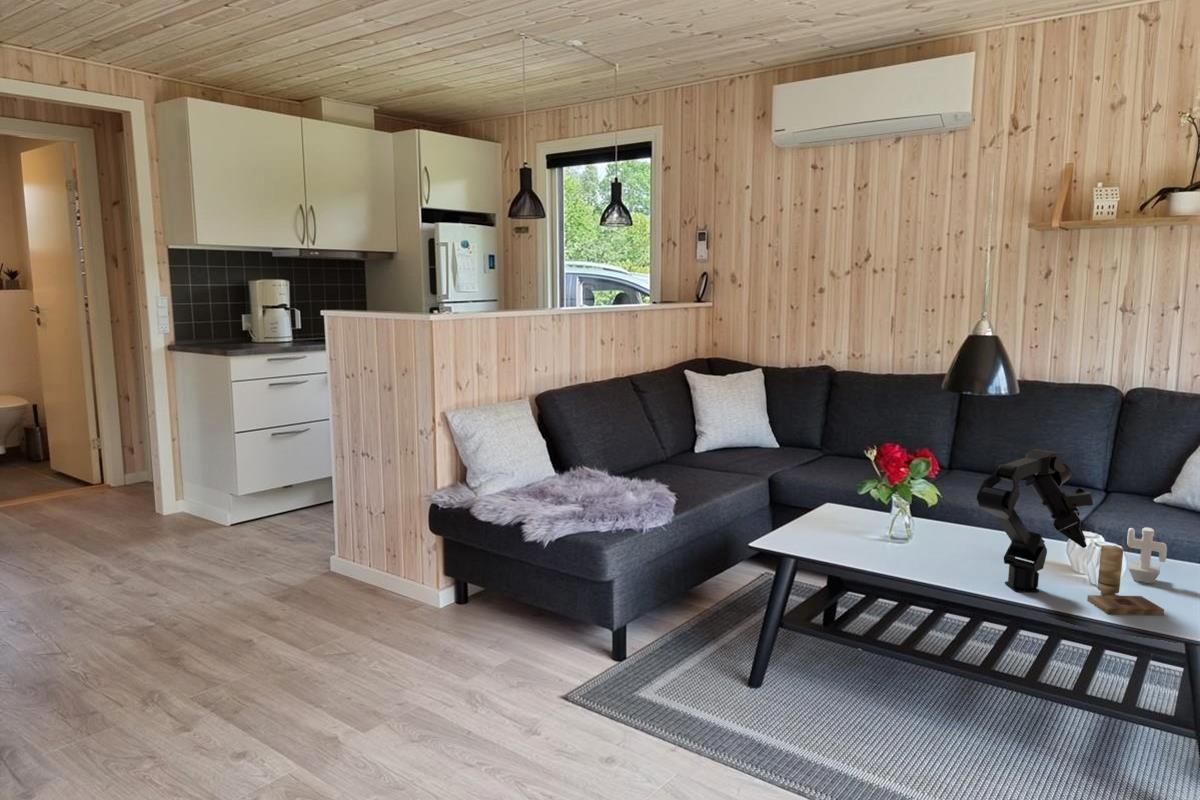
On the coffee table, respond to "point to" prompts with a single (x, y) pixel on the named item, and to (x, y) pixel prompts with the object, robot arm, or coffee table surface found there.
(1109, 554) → the oak peg
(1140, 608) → the walnut board
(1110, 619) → the coffee table surface
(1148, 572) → the figurine
